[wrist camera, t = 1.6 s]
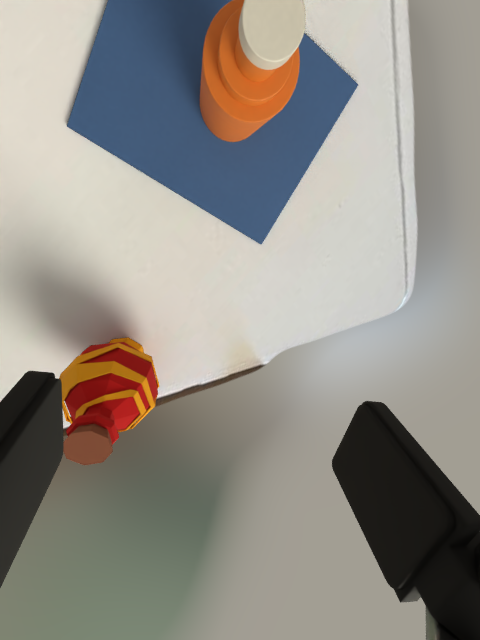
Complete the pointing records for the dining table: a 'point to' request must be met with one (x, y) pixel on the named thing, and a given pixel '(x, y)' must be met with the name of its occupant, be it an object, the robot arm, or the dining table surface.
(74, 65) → the dining table surface
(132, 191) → the dining table surface
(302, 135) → the cloth
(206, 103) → the bottle
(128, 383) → the potion bottle
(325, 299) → the dining table surface
